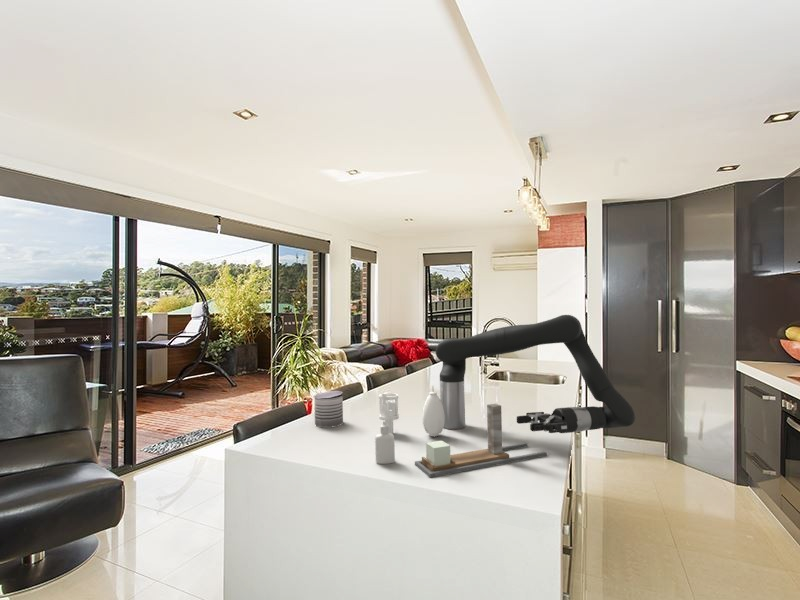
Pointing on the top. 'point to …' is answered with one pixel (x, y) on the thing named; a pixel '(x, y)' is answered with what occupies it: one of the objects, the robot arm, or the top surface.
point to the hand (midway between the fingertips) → (523, 423)
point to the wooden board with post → (480, 455)
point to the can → (328, 409)
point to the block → (438, 453)
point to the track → (484, 464)
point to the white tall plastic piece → (389, 409)
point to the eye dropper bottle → (384, 446)
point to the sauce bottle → (433, 415)
